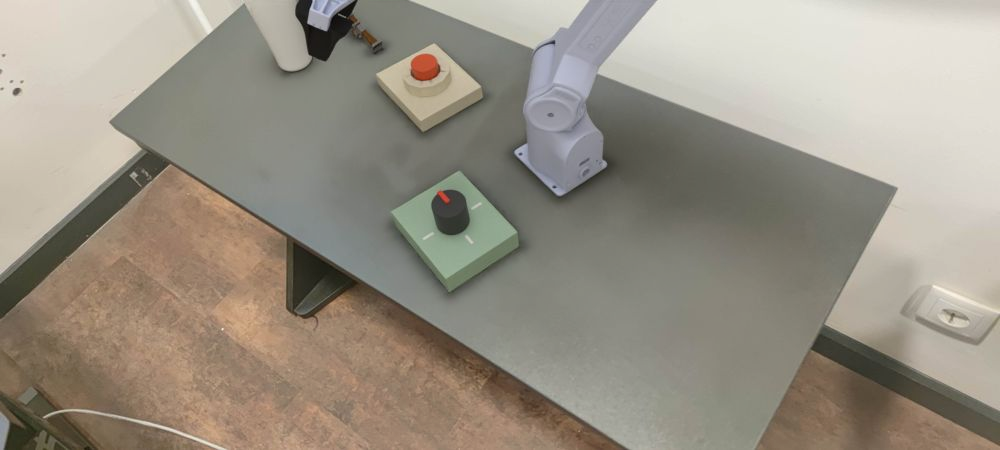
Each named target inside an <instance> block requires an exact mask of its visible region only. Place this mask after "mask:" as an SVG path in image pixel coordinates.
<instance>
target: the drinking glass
mask: <svg viewBox="0 0 1000 450" xmlns="http://www.w3.org/2000/svg"><path fill="white" fill-rule="evenodd" d="M243 2H244V4H245V7H246V9H247V10H248V12H249V14H250V16H251V17H252V20H253V21H254V23H255V25H256V27H257V28H258V30H259V32H260V35H262V37H263V39H264V40H265V41H264V42H265V43H266V44H267V46H268V48H269V50H270V52H271V53H272V55H273V57H274V60H275V62H276V64H277V66H278V67H279V68H280V69H281V70H283V71H286V72H298V71H301V70H303V69H305V68H306V67H308V66H309V65H310V63H312V60H313V57H312V56H310V55H309V54H308V51H307V45H306V38H305V33H304V30H303V27H302V25H301V23H300V22H299V20H298V19H297V18H296V16H295V8H296V4H297V3H298V0H243Z"/></svg>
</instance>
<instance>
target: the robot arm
mask: <svg viewBox="0 0 1000 450" xmlns="http://www.w3.org/2000/svg"><path fill="white" fill-rule="evenodd" d="M358 1H359V0H297V4H296V8H295V16H296V18H297V19H298V20H299V22H300V23H301V25H302V27H303V30H304V33H305V38H306V45H307V51H308V54H309V55H310V56H312V58H315V59H317V60H320V61H322V62H324V63H325V62H328V60H329V59H330V57H331V55H332V53H333V51H334V49H335V47H336V45H337V44H338V42H339V41H340V40H342V39H343V38H345V37H346V36H347V35H348V34H349V32H350V31H351V30H352V29H351V27H352V26H354V24H353V23H354V21H352V20H349V19H347V18H348V17H349V16H350V15H351V13H353V11H354V10H355V7H356V5H357V4H358ZM657 1H658V0H588V1H587V3H585V5H584V6H583V8H582V9H581V11H580V12H579V13H578V14H577V16H576V17H575V18H574V20H573V21H572V23H571V24H570V25H569V26H568V28H567V27H559V29H558V30H557V31H556V32H555V34H553V35H552V36H551V37H550V38H547V39H545V40H543V41H542V42H540V43H538V44H537V45H536V46H535V47H534V49H533V51H532V53H531V57H530V64H531V65H530V72H529V78H528V82H527V83H528V84H527V90H526V96H525V100H524V103H523V106H522V113H523V117H524V119H525V130H526V143H525V144H522V145H521V146H520V147H518V148H517V149H515V150H514V156H515V157H516V158H517V159H518V160H519V161H520V162H521V163H523V165H524V166H525V167H526V168H527V169H529V170H530V172H532V173H533V175H535V176H536V177H537V178H538V179H539V180H540V181H541V182H542V184H544V185H545V186H546V187H547V188H548V189H549V190H550V191H551V192H552V193H553V194H554V195H555V196H557V197H563V196H565V195H566V194H568V193H569V192H571V191H572V190H574V189H575V188H576V187H578V186H579V185H582V184H583V183H584V182H586V181H587V180H589V179H590V178H593V177H594V176H595V175H597V174H598V173H600V172H601V171H603V170H605V169H606V168H607V167H608V162H607V161H606V160H605V159H603V158H604V157H603V155H604V134H603V133H602V132H601V130H599V128H598V127H596V125H595V123H593V121H592V120H591V118H590V116H589V113H588V110H587V100H588V98H589V96H590V93H591V91H592V88H593V85H594V82H595V81H596V77H597V74H598V72H599V70H600V67H602V65H603V64H604V63H605V62H606V61H607V60H608V58H609V57H610V56H611V55H612V54H613V52H614V51H615V50H616V49H617V48H618V47H619V46H620V45H621V43H622V42H623V41H624V40H625V39H626V38H627V36H628V35H629V34H630V33H631V31H633V30H634V28H635V27H636V26H637V24H638V23H640V21H641V20H642V19H643V18H644V16H645V15H646V14H647V13H648V12H649V11H650V10H651V8H652V7H653V6H654V5H655V4H656V3H657ZM346 17H347V18H346Z"/></svg>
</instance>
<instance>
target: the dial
mask: <svg viewBox="0 0 1000 450" xmlns="http://www.w3.org/2000/svg"><path fill="white" fill-rule="evenodd" d="M431 208H432V212H433V216H434V219H435V223H436V226H437V228H438V230H439V231H440V232H442V233H443V234H446V235H456V234H459V233H461V232H463V231H464V230H465V229H466V228H467V227H468V225H469V222H470V217H469V212H468V207H467V202H466V198H465V196H464V195H463V194H462V193H461V192H459V191H457V190H444V191H441V190H440V191H438V192H437V195H436V196H435V197H434V198H433V200H432V202H431Z"/></svg>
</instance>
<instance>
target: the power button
mask: <svg viewBox="0 0 1000 450" xmlns="http://www.w3.org/2000/svg"><path fill="white" fill-rule="evenodd" d="M411 68H412V73H413V76H414V77H415V78H416V79H417V80H419V81H428V80H432V79H433V78H435V77H436V76H437V75H438V73H439V68H438V63H437V59H436V58H435V56H433V55H431V54H420V55H418V56H416V57H414V58H413V60H412V61H411Z"/></svg>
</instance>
